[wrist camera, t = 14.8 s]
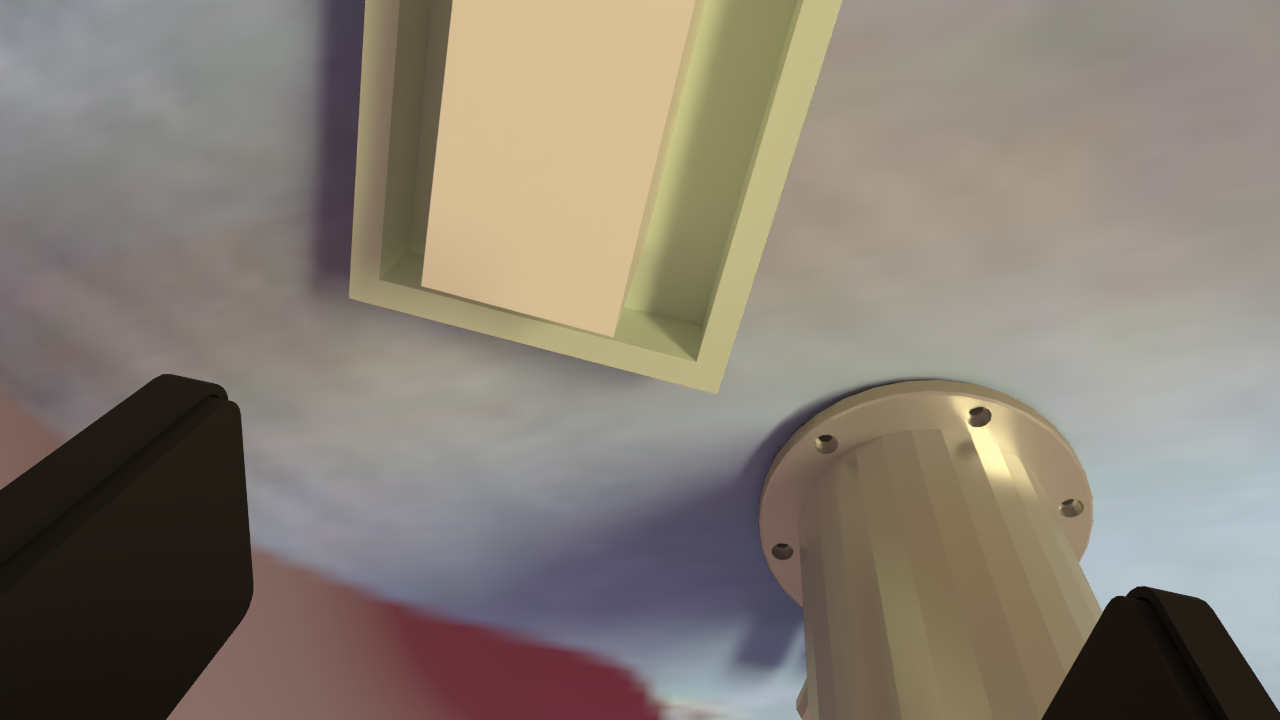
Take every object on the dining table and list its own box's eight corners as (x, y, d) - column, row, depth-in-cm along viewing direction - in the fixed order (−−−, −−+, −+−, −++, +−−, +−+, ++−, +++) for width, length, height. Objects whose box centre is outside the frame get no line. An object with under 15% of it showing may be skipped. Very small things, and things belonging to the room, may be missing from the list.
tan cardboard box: (639, 268, 30) (607, 361, 24) (489, 228, 30) (418, 311, 24) (762, -227, 23) (763, -278, 16) (564, -280, 23) (491, -350, 16)
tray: (721, 347, 32) (717, 394, 29) (388, 261, 32) (348, 298, 29) (954, -405, 21) (987, -458, 18) (452, -533, 21) (399, -608, 18)
